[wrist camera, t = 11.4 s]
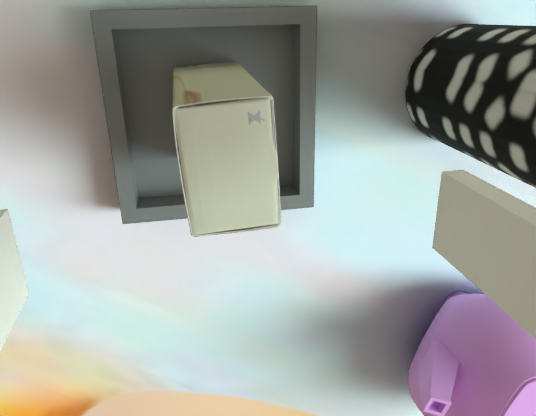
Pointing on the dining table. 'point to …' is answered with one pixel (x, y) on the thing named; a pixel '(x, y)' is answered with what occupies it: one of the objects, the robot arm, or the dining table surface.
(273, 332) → the dining table surface
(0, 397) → the dining table surface
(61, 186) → the dining table surface
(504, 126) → the white-spotted black cylinder
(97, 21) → the tray
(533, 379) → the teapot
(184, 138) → the skincare box
